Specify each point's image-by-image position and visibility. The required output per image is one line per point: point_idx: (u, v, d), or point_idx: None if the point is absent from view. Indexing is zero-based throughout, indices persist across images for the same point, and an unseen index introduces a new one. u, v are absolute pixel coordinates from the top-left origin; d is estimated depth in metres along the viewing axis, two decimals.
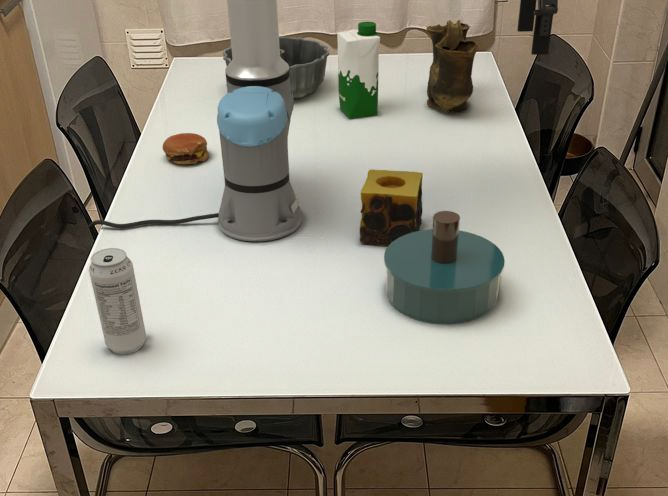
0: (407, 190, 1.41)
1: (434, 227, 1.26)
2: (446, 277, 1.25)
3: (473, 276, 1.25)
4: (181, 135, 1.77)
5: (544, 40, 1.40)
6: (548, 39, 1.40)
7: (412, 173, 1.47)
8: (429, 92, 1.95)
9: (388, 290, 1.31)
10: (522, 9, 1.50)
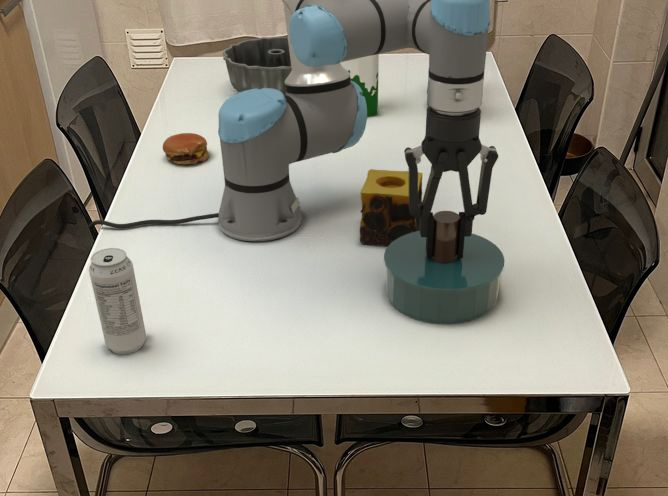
0: (407, 190, 1.41)
1: (434, 227, 1.26)
2: (446, 277, 1.25)
3: (473, 276, 1.25)
4: (181, 135, 1.77)
5: (427, 242, 1.28)
6: (427, 244, 1.27)
7: None
8: None
9: (388, 290, 1.31)
10: None
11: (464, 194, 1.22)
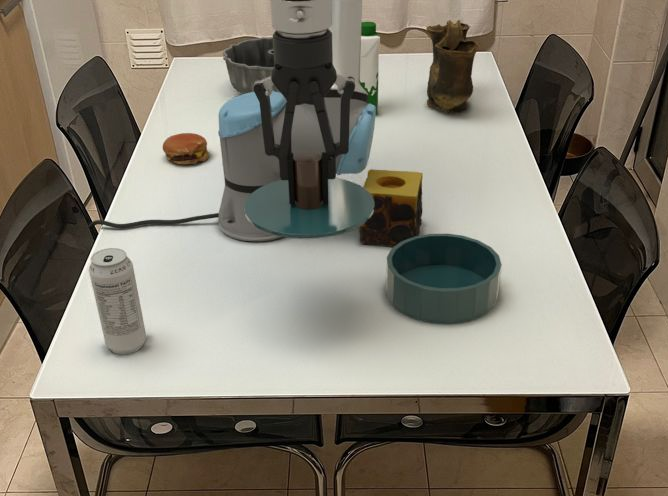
0: (407, 190, 1.41)
1: (294, 169, 1.15)
2: (306, 223, 1.14)
3: (336, 222, 1.14)
4: (181, 135, 1.77)
5: None
6: None
7: (412, 173, 1.47)
8: (429, 92, 1.95)
9: (388, 290, 1.31)
10: None
11: (322, 130, 1.11)
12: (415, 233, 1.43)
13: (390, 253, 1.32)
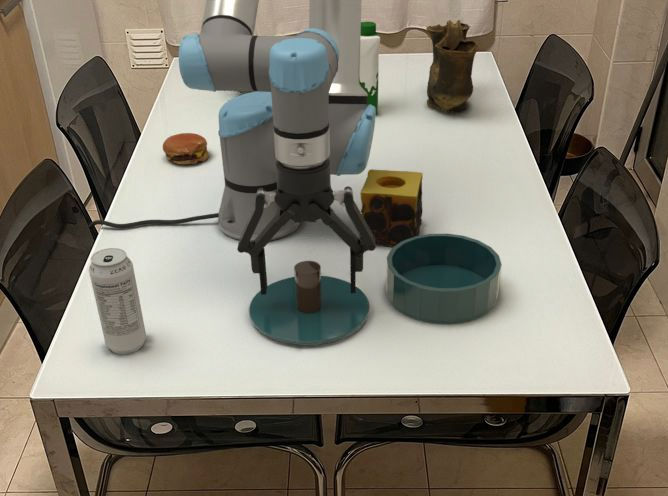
0: (407, 190, 1.41)
1: (295, 278, 1.25)
2: (306, 328, 1.24)
3: (333, 327, 1.24)
4: (181, 135, 1.77)
5: None
6: (260, 280, 1.25)
7: (412, 173, 1.47)
8: (429, 92, 1.95)
9: (388, 290, 1.31)
10: None
11: (341, 236, 1.21)
12: (415, 233, 1.43)
13: (390, 253, 1.32)
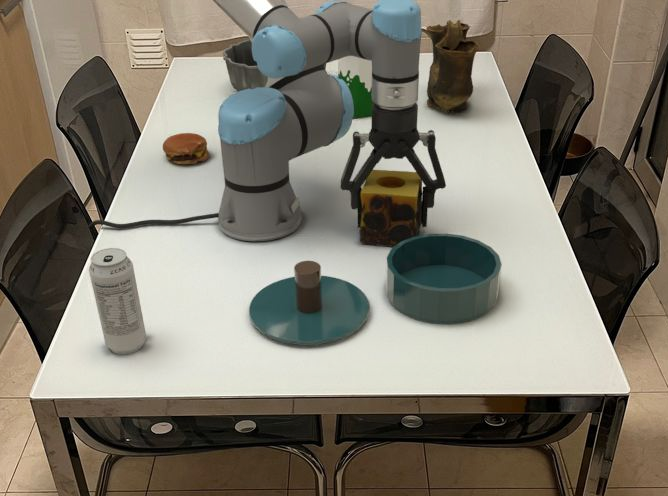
0: (407, 190, 1.41)
1: (295, 278, 1.25)
2: (306, 328, 1.24)
3: (333, 327, 1.24)
4: (181, 135, 1.77)
5: None
6: (357, 215, 1.46)
7: (412, 173, 1.47)
8: (429, 92, 1.95)
9: (388, 290, 1.31)
10: (422, 201, 1.47)
11: (419, 174, 1.42)
12: (415, 233, 1.43)
13: (390, 253, 1.32)
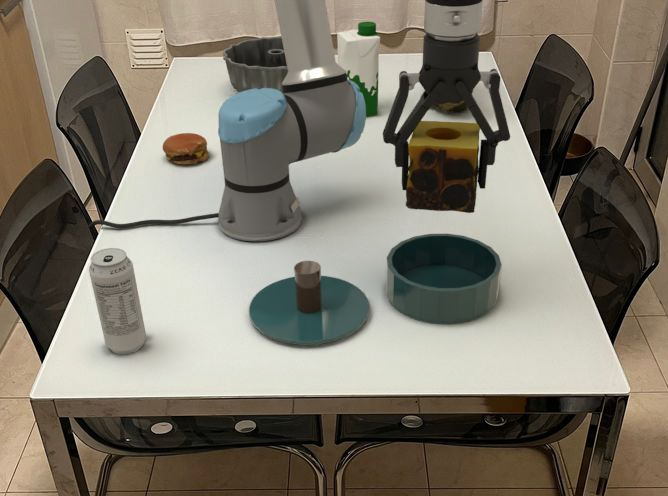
0: (464, 142, 1.17)
1: (295, 278, 1.25)
2: (306, 328, 1.24)
3: (333, 327, 1.24)
4: (181, 135, 1.77)
5: (402, 172, 1.23)
6: (403, 174, 1.22)
7: (468, 123, 1.23)
8: None
9: (388, 290, 1.31)
10: (480, 157, 1.23)
11: (479, 122, 1.17)
12: (473, 194, 1.19)
13: (390, 253, 1.32)
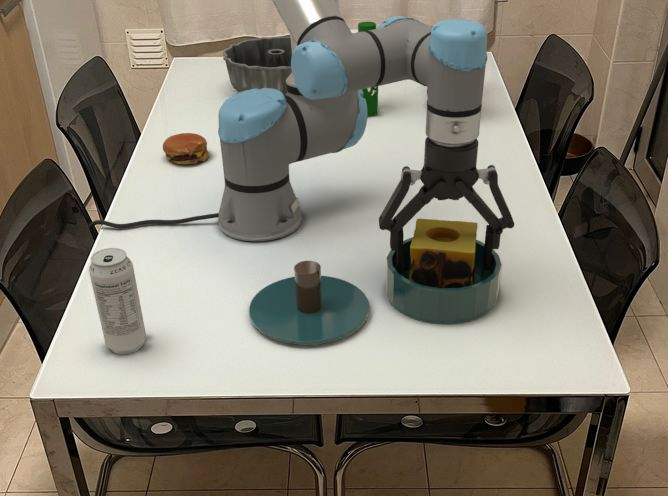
0: (463, 245, 1.25)
1: (295, 278, 1.25)
2: (306, 328, 1.24)
3: (333, 327, 1.24)
4: (181, 135, 1.77)
5: (397, 255, 1.29)
6: (397, 257, 1.29)
7: (466, 223, 1.30)
8: None
9: (388, 290, 1.31)
10: (485, 241, 1.29)
11: (482, 214, 1.24)
12: None
13: (390, 253, 1.32)
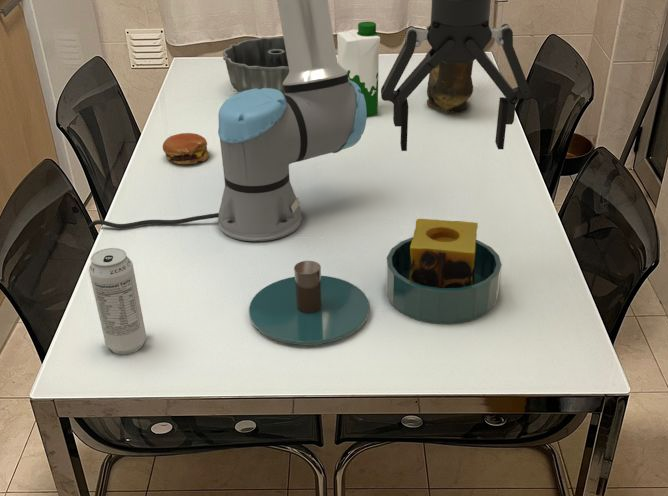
0: (463, 245, 1.25)
1: (295, 278, 1.25)
2: (306, 328, 1.24)
3: (333, 327, 1.24)
4: (181, 135, 1.77)
5: (401, 132, 1.17)
6: (401, 134, 1.17)
7: (466, 223, 1.30)
8: (429, 92, 1.95)
9: (388, 290, 1.31)
10: (498, 116, 1.17)
11: (495, 80, 1.12)
12: None
13: (390, 253, 1.32)
